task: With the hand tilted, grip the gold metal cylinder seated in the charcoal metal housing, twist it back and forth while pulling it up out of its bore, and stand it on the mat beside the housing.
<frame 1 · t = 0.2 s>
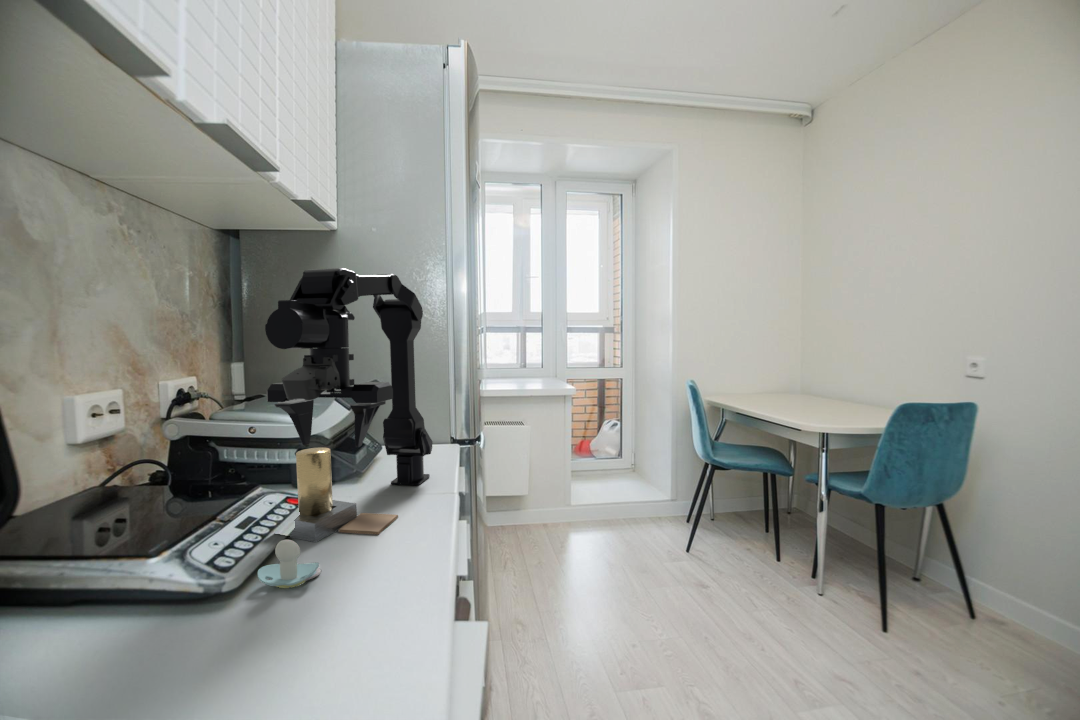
hand: (332, 445, 74), 15 cm above the kitchen counter, tool pointing down, fingers open, 9 cm apart
pacifier: (293, 582, 62), on the kitchen counter
mat: (369, 524, 79), on the kitchen counter
housing: (316, 526, 79), on the kitchen counter
gold metal cylinder: (315, 488, 78), in the housing
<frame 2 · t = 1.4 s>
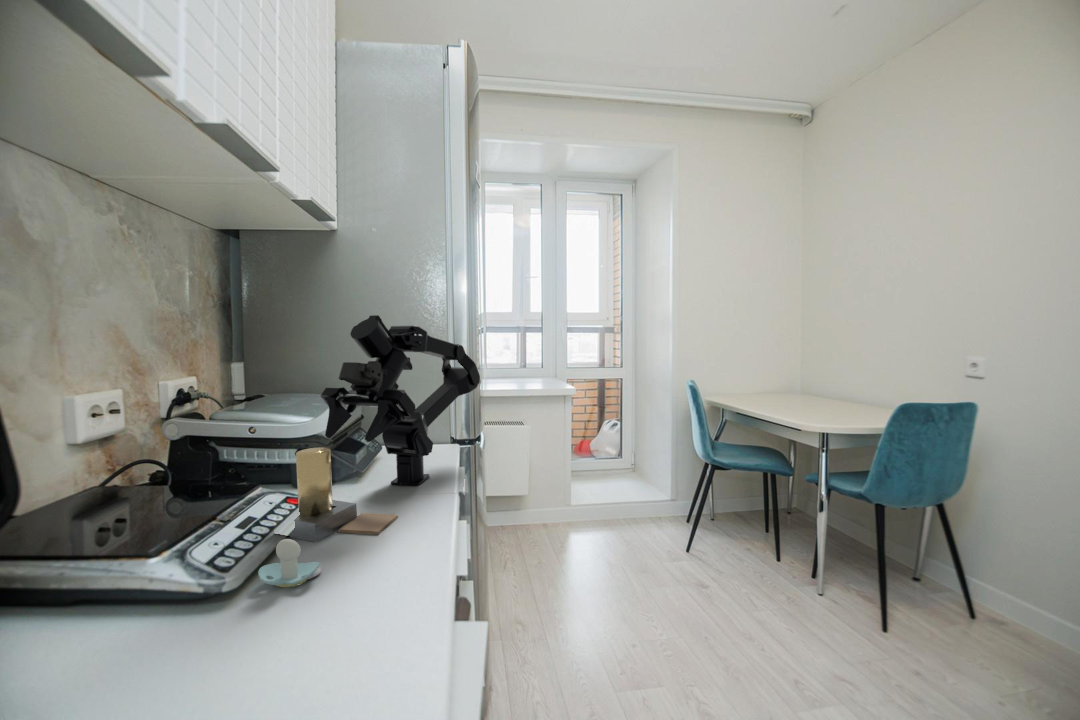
hand: (346, 439, 85), 13 cm above the kitchen counter, tool tilted 45°, fingers open, 9 cm apart
nothing on the kitchen counter moved.
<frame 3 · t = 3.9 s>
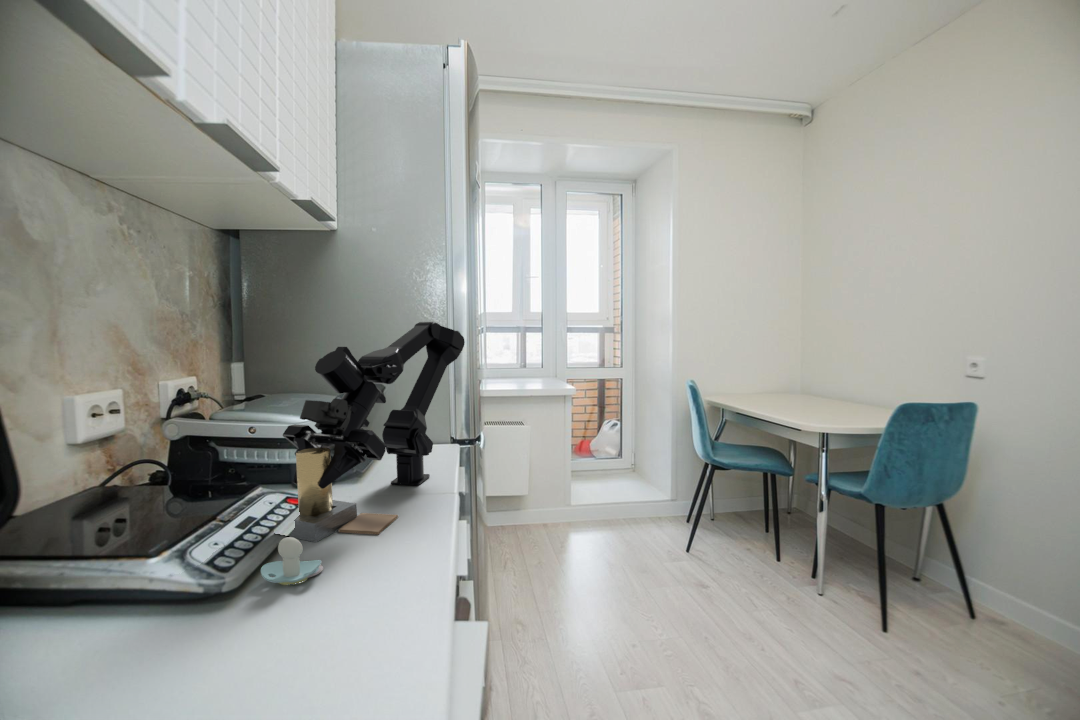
hand: (308, 485, 77), 8 cm above the kitchen counter, tool tilted 45°, fingers closed on gold metal cylinder, 5 cm apart
gold metal cylinder: (315, 488, 78), in the housing, touching gripper
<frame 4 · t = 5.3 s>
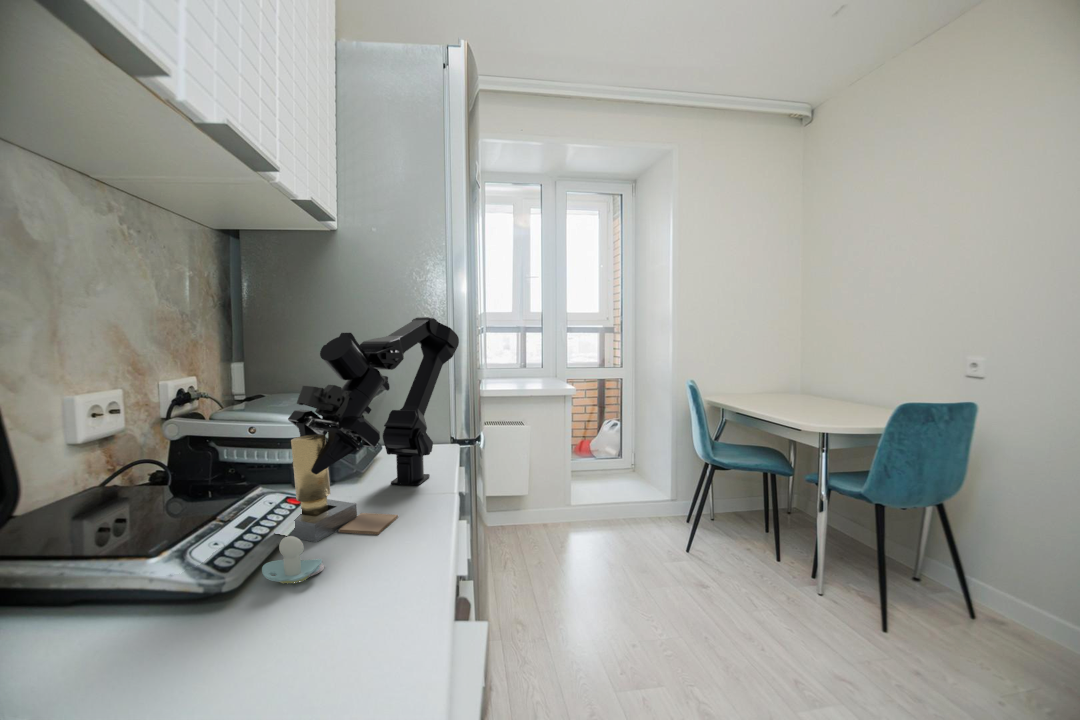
hand: (303, 470, 77), 10 cm above the kitchen counter, tool tilted 45°, fingers closed on gold metal cylinder, 5 cm apart
gold metal cylinder: (311, 475, 78), point 9 cm above the kitchen counter, touching gripper
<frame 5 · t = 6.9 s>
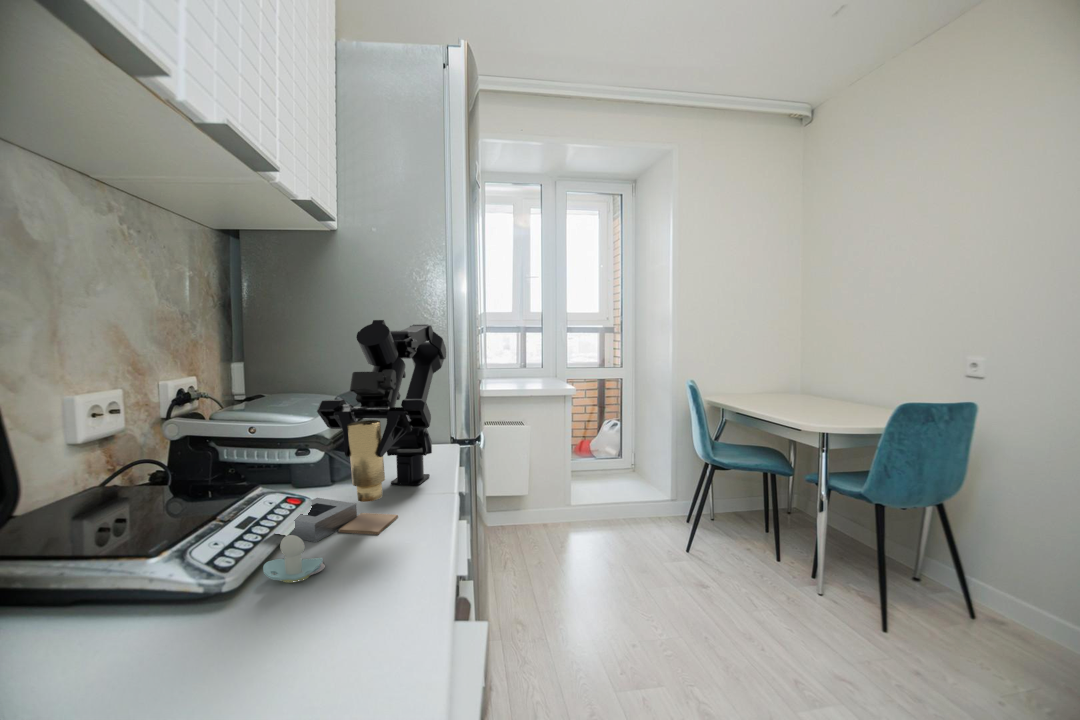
hand: (363, 456, 77), 12 cm above the kitchen counter, tool tilted 45°, fingers closed on gold metal cylinder, 5 cm apart
gold metal cylinder: (367, 460, 79), point 11 cm above the kitchen counter, touching gripper
when the fingers open (8 cm above the kitchen counter, at t = 8.1 s): gold metal cylinder stays where it is, resting on mat.
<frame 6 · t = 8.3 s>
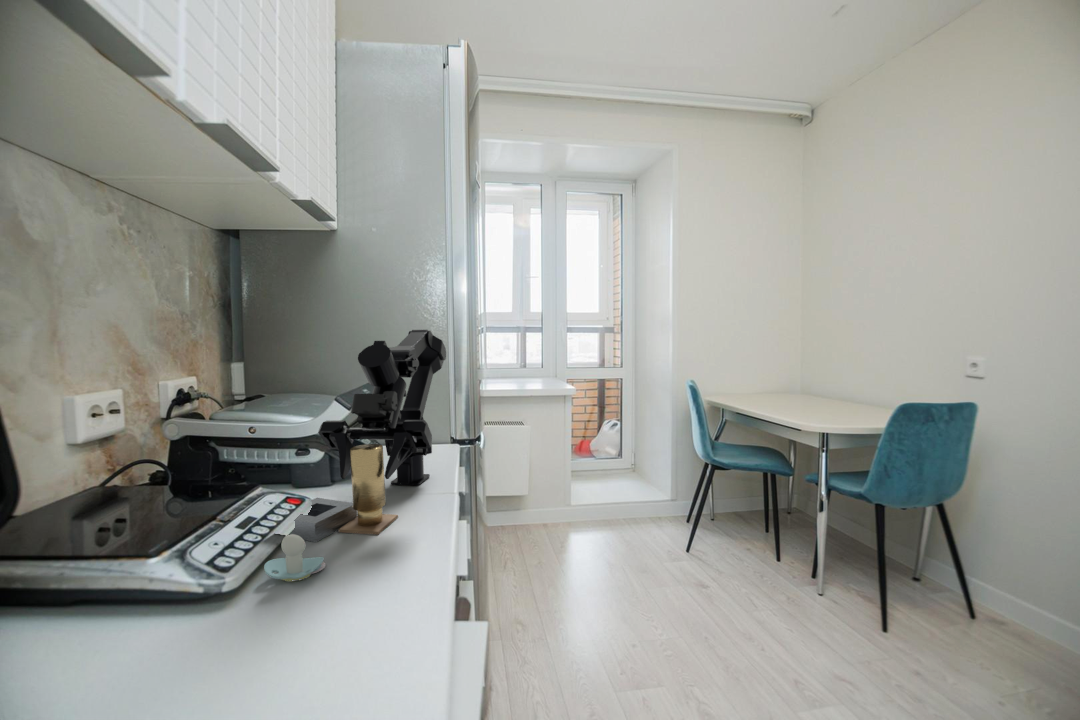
hand: (364, 478, 77), 9 cm above the kitchen counter, tool tilted 45°, fingers open, 7 cm apart
gold metal cylinder: (368, 484, 79), on the mat
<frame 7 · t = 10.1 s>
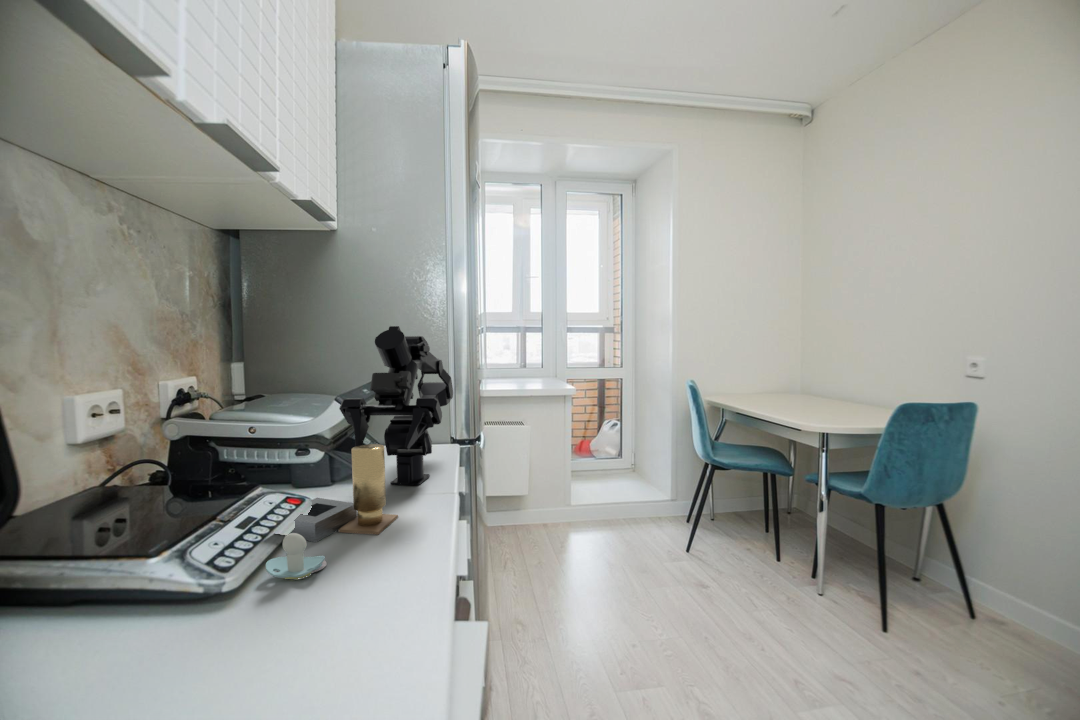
hand: (382, 448, 86), 11 cm above the kitchen counter, tool tilted 45°, fingers open, 9 cm apart
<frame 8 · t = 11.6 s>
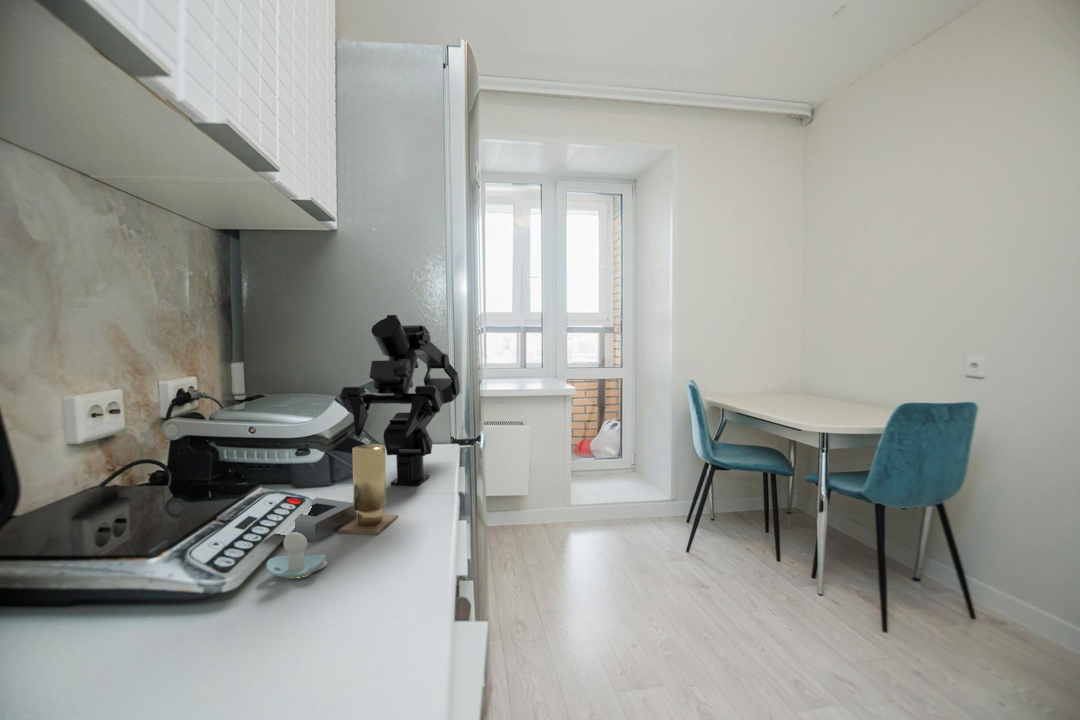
hand: (381, 435, 86), 14 cm above the kitchen counter, tool tilted 45°, fingers open, 9 cm apart
at the end: gold metal cylinder inside the target area on the mat (0.2 cm from its centre), point 6.9 cm above the mat's base; gold metal cylinder tilted 1°; the gripper is holding nothing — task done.
